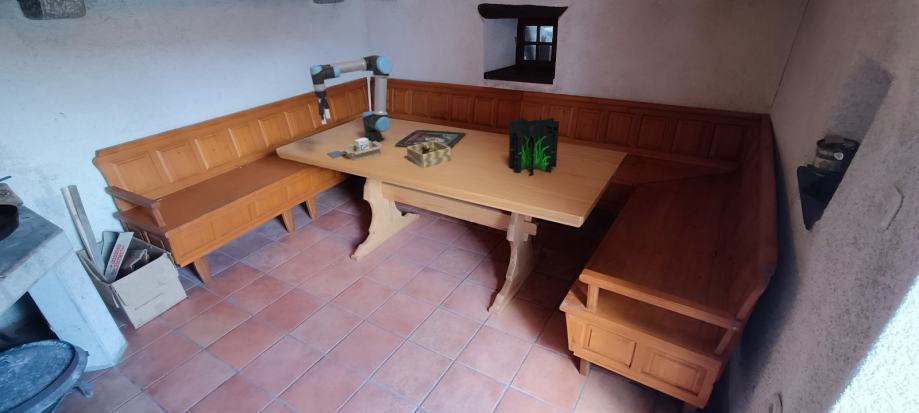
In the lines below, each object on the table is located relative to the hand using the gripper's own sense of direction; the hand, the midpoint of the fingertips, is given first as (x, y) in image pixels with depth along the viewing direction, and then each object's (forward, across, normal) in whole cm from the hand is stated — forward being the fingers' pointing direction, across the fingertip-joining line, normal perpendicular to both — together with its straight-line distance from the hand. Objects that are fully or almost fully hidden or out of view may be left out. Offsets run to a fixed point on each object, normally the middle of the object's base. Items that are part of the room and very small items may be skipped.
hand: (326, 121), depth 294 cm
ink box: (+27, -2, +21) cm, 35 cm away
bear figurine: (+28, +16, +69) cm, 76 cm away
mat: (+27, -6, 0) cm, 27 cm away
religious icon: (+29, -25, +71) cm, 81 cm away
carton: (+27, -2, +21) cm, 35 cm away
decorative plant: (+29, +42, +136) cm, 145 cm away
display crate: (+28, +17, +69) cm, 76 cm away
